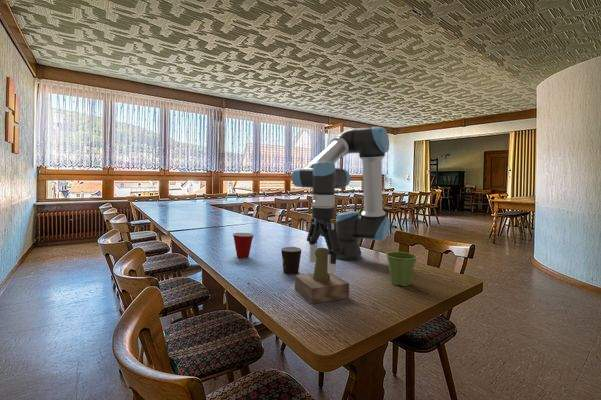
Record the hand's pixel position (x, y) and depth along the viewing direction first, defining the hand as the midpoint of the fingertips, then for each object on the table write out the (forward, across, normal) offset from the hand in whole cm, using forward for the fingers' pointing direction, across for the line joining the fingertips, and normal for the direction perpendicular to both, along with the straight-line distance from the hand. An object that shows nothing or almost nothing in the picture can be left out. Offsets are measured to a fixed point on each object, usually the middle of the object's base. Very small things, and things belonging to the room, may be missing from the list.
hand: (321, 267), depth 108 cm
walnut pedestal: (+9, 0, 0) cm, 9 cm away
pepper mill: (+4, 0, 0) cm, 5 cm away
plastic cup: (+10, -57, -14) cm, 59 cm away
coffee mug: (+10, -27, 0) cm, 28 cm away
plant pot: (+10, +2, +34) cm, 35 cm away
